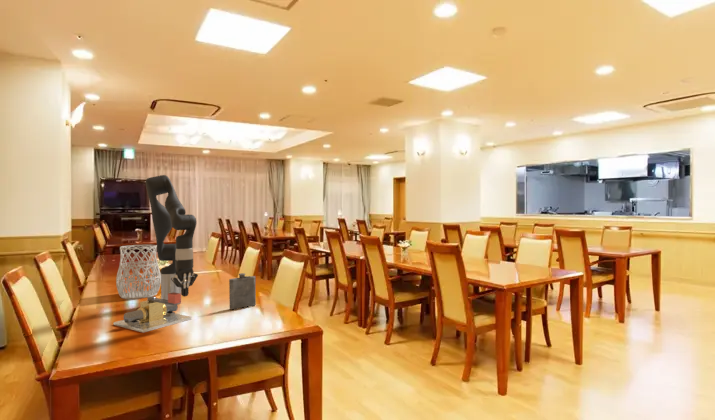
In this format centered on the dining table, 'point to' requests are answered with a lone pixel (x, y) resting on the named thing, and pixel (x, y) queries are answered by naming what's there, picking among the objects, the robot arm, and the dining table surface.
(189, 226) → the robot arm
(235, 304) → the flask
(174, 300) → the lever
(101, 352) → the dining table surface
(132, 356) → the dining table surface
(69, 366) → the dining table surface
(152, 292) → the vase
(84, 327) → the dining table surface
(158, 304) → the valve
